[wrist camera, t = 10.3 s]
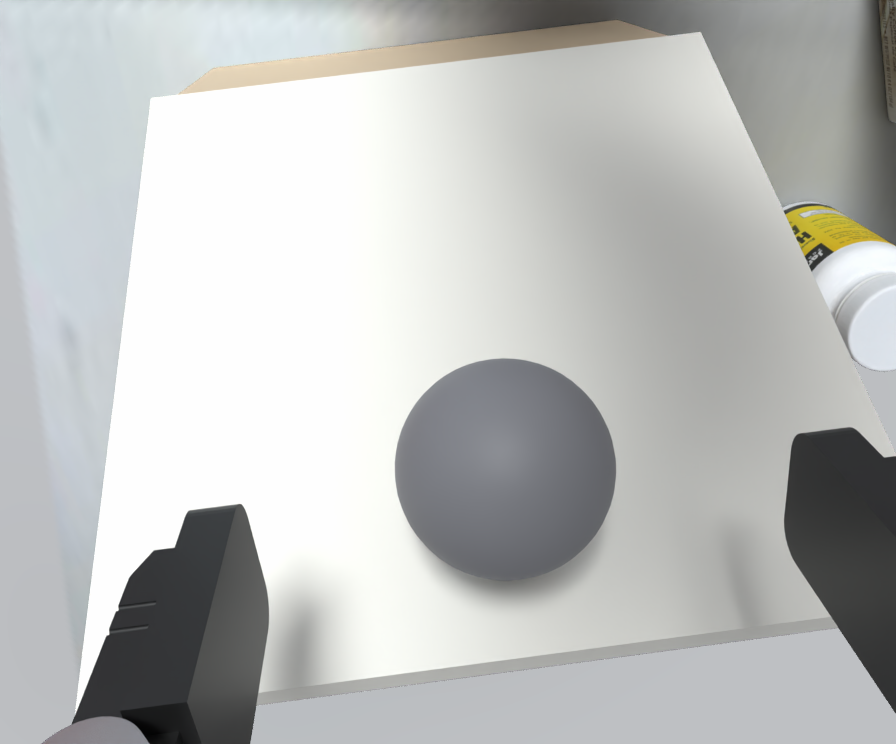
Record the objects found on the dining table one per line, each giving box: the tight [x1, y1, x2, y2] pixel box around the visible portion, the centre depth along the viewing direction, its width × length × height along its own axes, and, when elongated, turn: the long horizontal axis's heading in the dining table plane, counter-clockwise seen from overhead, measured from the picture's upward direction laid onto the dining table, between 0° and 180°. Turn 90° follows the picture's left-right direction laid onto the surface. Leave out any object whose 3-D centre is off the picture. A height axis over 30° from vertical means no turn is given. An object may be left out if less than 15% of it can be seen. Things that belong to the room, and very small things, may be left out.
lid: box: [75, 32, 896, 714], centre depth 20 cm, size 19×18×6 cm
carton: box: [178, 20, 667, 95], centre depth 37 cm, size 19×18×10 cm
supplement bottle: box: [782, 202, 896, 371], centre depth 39 cm, size 5×5×10 cm
